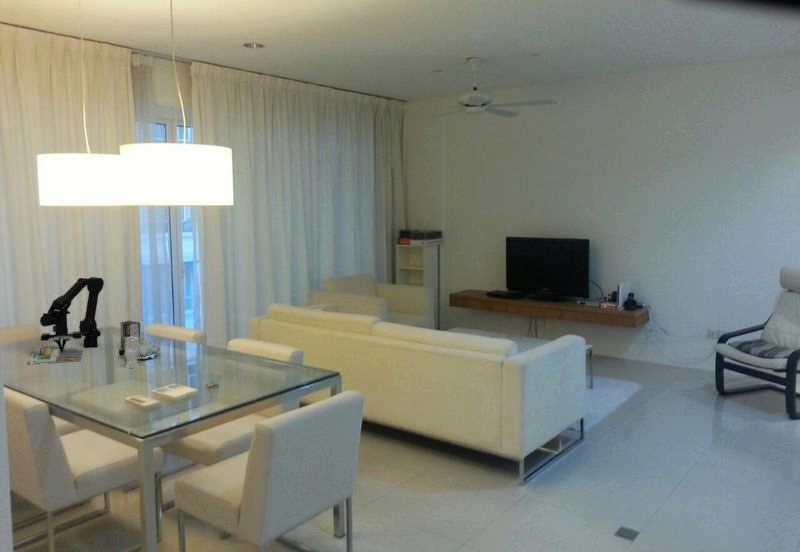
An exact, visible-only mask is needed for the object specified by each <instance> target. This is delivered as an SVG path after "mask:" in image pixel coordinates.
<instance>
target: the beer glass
mask: <svg viewBox="0 0 800 552" xmlns="http://www.w3.org/2000/svg"><path fill="white" fill-rule="evenodd" d="M139 347H140V345H139V337H127V338H125V354H126V358H125V360H126V363H125V365H126V364H127V365H132V364H136V363H138V364H139V360H138V355H139Z"/></svg>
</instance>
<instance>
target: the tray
mask: <svg viewBox="0 0 800 552" xmlns="http://www.w3.org/2000/svg"><path fill="white" fill-rule="evenodd" d="M50 356H51V359H42V357H41V355H38V356H36V357H35V359H34V364H36V365H41V364H40V363H51V364H57V363H56V361H57V358H58V356H57V354H55V355H50Z"/></svg>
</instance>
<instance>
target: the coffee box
mask: <svg viewBox="0 0 800 552" xmlns="http://www.w3.org/2000/svg"><path fill="white" fill-rule="evenodd" d="M127 337H139V343H141V322H138V321H134V320H125V321H121V322H120V350H121V349H125V338H127Z"/></svg>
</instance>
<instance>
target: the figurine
mask: <svg viewBox="0 0 800 552" xmlns="http://www.w3.org/2000/svg"><path fill="white" fill-rule="evenodd" d="M139 345H140V347H139V355H138V357H146V356H150V355H153V354H155V353H156V354H158V353H159V352H160V349H161V347H160V345H159V344H154V343H153V342H140V343H139ZM118 354H119V355H118V356H119V357H124V358H125V359H126V354H125V349H121V348H120V349H119V350H118Z"/></svg>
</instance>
